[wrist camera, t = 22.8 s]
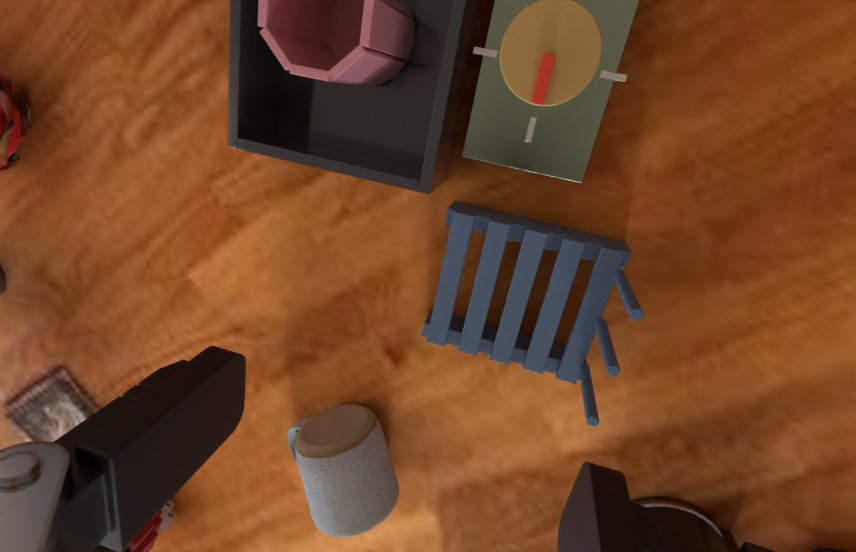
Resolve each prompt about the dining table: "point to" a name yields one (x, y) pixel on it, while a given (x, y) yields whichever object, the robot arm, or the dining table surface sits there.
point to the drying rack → (506, 338)
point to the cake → (147, 531)
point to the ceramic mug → (345, 469)
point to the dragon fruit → (11, 124)
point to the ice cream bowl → (2, 281)
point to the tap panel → (544, 125)
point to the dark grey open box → (357, 102)
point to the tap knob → (550, 52)
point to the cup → (339, 38)
